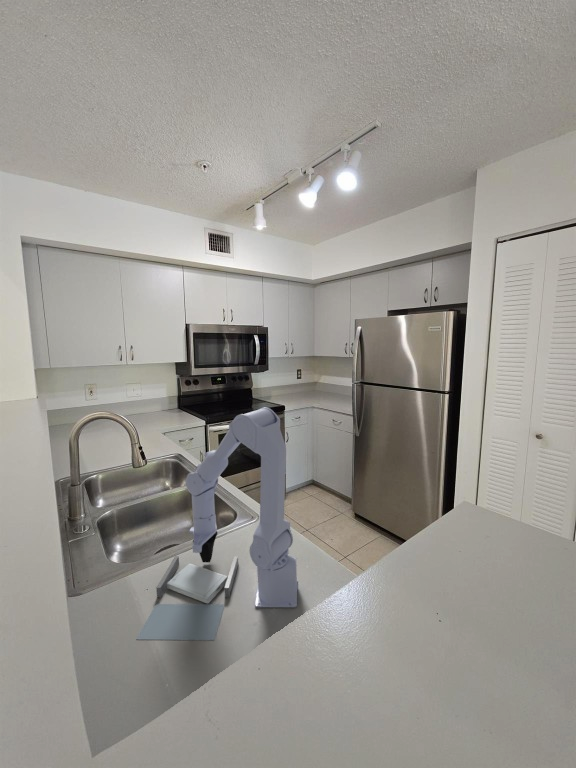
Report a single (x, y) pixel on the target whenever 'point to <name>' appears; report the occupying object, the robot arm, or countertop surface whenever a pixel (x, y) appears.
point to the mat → (182, 622)
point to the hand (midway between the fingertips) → (207, 560)
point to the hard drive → (197, 583)
